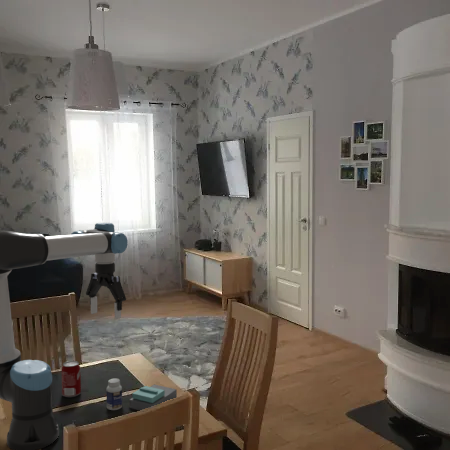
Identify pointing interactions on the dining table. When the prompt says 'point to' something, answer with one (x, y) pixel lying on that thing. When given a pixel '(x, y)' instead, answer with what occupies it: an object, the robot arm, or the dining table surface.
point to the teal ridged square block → (148, 394)
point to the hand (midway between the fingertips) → (105, 315)
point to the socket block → (169, 394)
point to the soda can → (71, 379)
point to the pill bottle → (114, 394)
